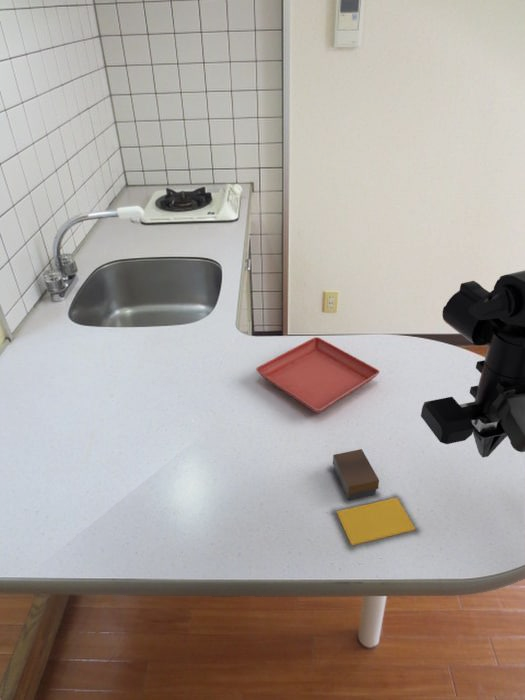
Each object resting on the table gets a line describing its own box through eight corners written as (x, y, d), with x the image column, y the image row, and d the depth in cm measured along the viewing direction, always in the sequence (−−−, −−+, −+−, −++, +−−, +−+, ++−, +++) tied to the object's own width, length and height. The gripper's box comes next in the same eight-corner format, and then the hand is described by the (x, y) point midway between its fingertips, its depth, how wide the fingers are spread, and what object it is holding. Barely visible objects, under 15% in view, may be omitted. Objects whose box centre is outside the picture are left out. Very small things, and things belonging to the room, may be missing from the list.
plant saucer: (316, 347, 118) (316, 335, 116) (380, 383, 106) (381, 370, 104) (254, 381, 108) (254, 368, 106) (318, 425, 97) (318, 411, 95)
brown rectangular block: (377, 495, 83) (379, 480, 81) (347, 501, 82) (348, 486, 80) (360, 463, 89) (361, 448, 87) (332, 469, 88) (333, 454, 86)
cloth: (396, 498, 82) (397, 497, 82) (415, 530, 77) (415, 528, 77) (336, 512, 80) (336, 511, 80) (351, 545, 76) (351, 544, 75)
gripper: (479, 421, 56) (453, 515, 65) (626, 391, 60) (582, 484, 68) (427, 363, 65) (411, 452, 74) (557, 339, 69) (527, 427, 77)
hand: (483, 454), depth 73 cm, fingers closed
